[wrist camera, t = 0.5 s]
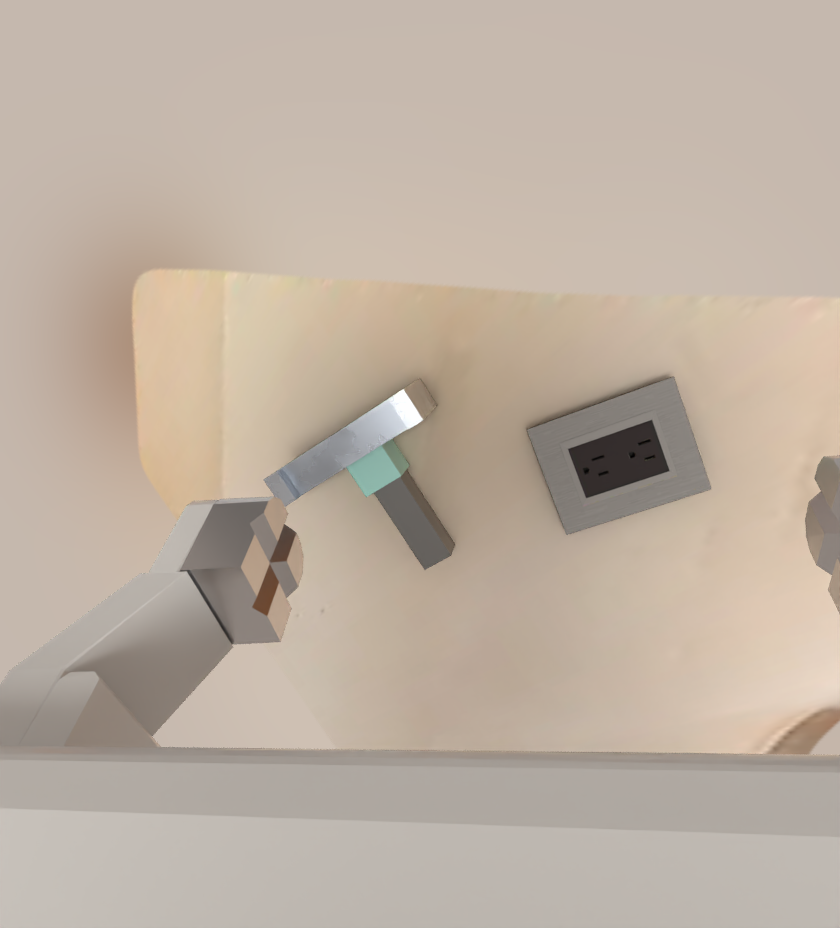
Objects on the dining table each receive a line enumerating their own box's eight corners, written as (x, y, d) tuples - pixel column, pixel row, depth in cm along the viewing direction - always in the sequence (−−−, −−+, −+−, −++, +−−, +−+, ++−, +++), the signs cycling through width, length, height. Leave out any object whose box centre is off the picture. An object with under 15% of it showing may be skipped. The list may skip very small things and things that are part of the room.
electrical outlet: (565, 527, 62) (566, 535, 60) (527, 425, 61) (526, 430, 58) (705, 482, 59) (712, 490, 57) (669, 374, 57) (674, 377, 55)
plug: (459, 541, 64) (454, 556, 60) (425, 560, 65) (418, 576, 61) (380, 420, 62) (369, 427, 59) (346, 441, 63) (334, 450, 60)
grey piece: (437, 405, 61) (423, 420, 53) (312, 483, 65) (282, 507, 57) (419, 378, 61) (403, 389, 53) (295, 458, 65) (263, 479, 57)
